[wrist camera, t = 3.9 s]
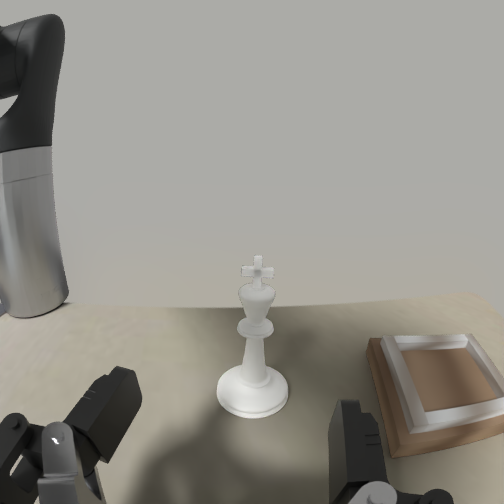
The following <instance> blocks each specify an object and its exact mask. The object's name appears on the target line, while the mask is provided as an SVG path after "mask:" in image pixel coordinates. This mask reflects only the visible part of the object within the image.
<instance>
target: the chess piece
mask: <svg viewBox="0 0 504 504" xmlns="http://www.w3.org/2000/svg"><path fill="white" fill-rule="evenodd" d="M262 262H263V256H259V255H255V256H254V266H242V268H241V271H242V272H241V276H247V277H253V283H248V284H245V285H243V286H242V287H241V288H240V289H239V297H240V300H241V303H242V305H243V308H244V312H245V315H246V318H243V319H242V320H240V322H239V323H238V326H237V330H238V332H239V334H241V335H242V336H244V337H246V338H247V339H246V347H245V352H244V358H243V363H242V365H239V366H235V367H233V368H231V369H229V370H228V371H226V372H225V373H224V374H223V375H222V376H221V378H220V379H219V382H218V387H217V398H218V400H219V402H220V404H221V405H222V406H223V407H224V408H225V409H226V410H227V411H229V412H230V413H232V414H234V415H237V416H240V417H244V418H263V417H267V416H270V415H272V414H274V413H276V412H278V411H279V410H280V409H281V408H282V407H283V406H284V405H285V403H286V402H287V399H288V385H287V382H286V380H285V378H284V377H283V376H282V375H281V374H280V373H279V372H278V371H277V370H275V369H273V368H271V367H268V366H265V356H264V341H263V338H266V337H268V336H270V335H271V334H272V333H273V331H274V327H273V324H272V322H271V321H270V320H268V319H267V318H265V317H266V316H267V314H268V311H269V308H270V306H271V304H272V302H273V300H274V297H275V290H274V289H273V288H272V287H271V286H269V285H267V284H264V283H262V278H273V276H274V268H273V267H262Z"/></svg>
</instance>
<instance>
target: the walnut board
mask: <svg viewBox="0 0 504 504" xmlns="http://www.w3.org/2000/svg"><path fill="white" fill-rule="evenodd" d="M366 354H367V358H368V361H369V365H370V369H371V372H372V376H373V380H374V384H375V387H376V391H377V395H378V399H379V404H380V408H381V412H382V416H383V421H384V425H385V430H386V434H387V439H388V444H389V449H390V454H391V458H396V457H404V456H411V455H417V454H423V453H429V452H434V451H439V450H443V449H448V448H452V447H456V446H460V445H464V444H468V443H472V442H475V441H479V440H482V439H485V438H488V437H491V436H495V435H497V434H500V433H503V432H504V378H503V377H502V375H501V374H500V372H499V371H498V369H497V368H496V366H495V365H494V363H493V362H492V361H491V359H490V358H489V356H488V355H487V354H486V352H485V351H484V349H483V348H482V347H481V345H480V344H479V343H478V341H477V340H476V339H475V337H474V336H473V335H472V334H457V335H424V336H382V338H370V340H369V343H368V347H367V350H366Z"/></svg>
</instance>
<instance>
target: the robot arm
mask: <svg viewBox="0 0 504 504" xmlns="http://www.w3.org/2000/svg"><path fill="white" fill-rule="evenodd" d="M64 43H65V30H64V25H63V22H62V20H61V19H60V17H59V16H57V15H54V14H48V15H42V16H39V17H35V18H31V19H27V20H24V21H21V22H18V23H14V24H12V25H8V26H6V27H1V26H0V99H4V98H8V97H11V96H15V95H18V97H17V99H16V101H15V102H14V103H13V105H12V106H11V108H10V109H9V110H8V111H7V112H6V113H5V114H4V115H3V116H2V117H1V118H0V299H1V302H2V303H3V304H4V308H5V310H6V312H7V313H8V314H9V315H11V316H14V317H33V316H37V315H41V314H43V313H46V312H49V311H51V310H53V309H55V308H56V307H58V306H59V305H60V304H62V303H63V302H64V301H65V299H66V298H67V296H68V293H69V290H68V286H67V281H66V276H65V271H64V266H63V260H62V255H61V250H60V243H59V236H58V229H57V221H56V212H55V202H54V190H53V174H52V147H51V146H52V130H53V123H54V112H55V99H56V92H57V85H58V79H59V74H60V69H61V63H62V57H63V52H64ZM141 403H142V394H141V390H140V387H139V384H138V380H137V377H136V373H135V372H134V371H133V370H130V369H126V368H123V367H119V366H116V367H115V368H114V369H113V370H112V371H111V373H110V374H109V375H103V376H101V377H100V378H98V379H97V380H95V381H94V382H93V384H92V385H91V386H90V387H89V390H88V391H86V393H85V394H84V395H83V397H82V398H81V399H80V400H79V402H78V403H77V404H76V405H75V407H74V408H73V409H72V411H71V412H70V413H69V415H68V416H67V417H66V419H65V420H64V421H63V422H53V423H50V424H48V425H47V426H46V427H44V426H39V425H35V424H30V423H29V422H28V421H27V419H26V418H25V416H24V415H22V414H20V413H12V414H9V415H7V416H6V417H5V418H4V419H3V421H2V422H1V423H0V504H34V502H35V500H36V499H37V497H38V495H39V501H40V504H107V503H106V500H105V496H104V493H103V489H102V485H101V482H100V478H99V473H98V469H97V466H96V464H97V462H98V461H99V460H100V461H103V462H105V463H107V464H108V463H109V461H110V459H111V458H112V456H113V454H114V452H115V451H116V449H117V447H118V445H119V444H120V442H121V440H122V438H123V437H124V435H125V433H126V431H127V430H128V428H129V426H130V424H131V423H132V421H133V419H134V417H135V416H136V414H137V412H138V411H139V409H140V407H141ZM328 444H329V504H454V502H453V498H452V496H451V495H450V494H449V493H448V492H447V491H445V490H442V489H433V490H430V491H428V492H427V493H425V494H424V495H416V494H408V493H402V492H399V491H397V490H395V489H394V488H393V487H392V486H391V485H390V484H389V482H388V480H387V475H386V469H385V462H384V456H383V450H382V445H381V439H380V436H379V429H378V423H377V422H376V420H375V419H374V417H373V416H372V415H371V413H361V408H360V403H359V400H338V402H337V405H336V408H335V411H334V414H333V416H332V419H331V422H330V426H329V432H328ZM20 455H22V456H23V458H22V459H21V461H20V462H19V464H18V465H17V467H16V469H15V470H14V472H13V473H12V475H11V476H10V470H11V469H12V467H13V465H14V464H15V462H16V461H17V459H18V458H19V456H20Z"/></svg>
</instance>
